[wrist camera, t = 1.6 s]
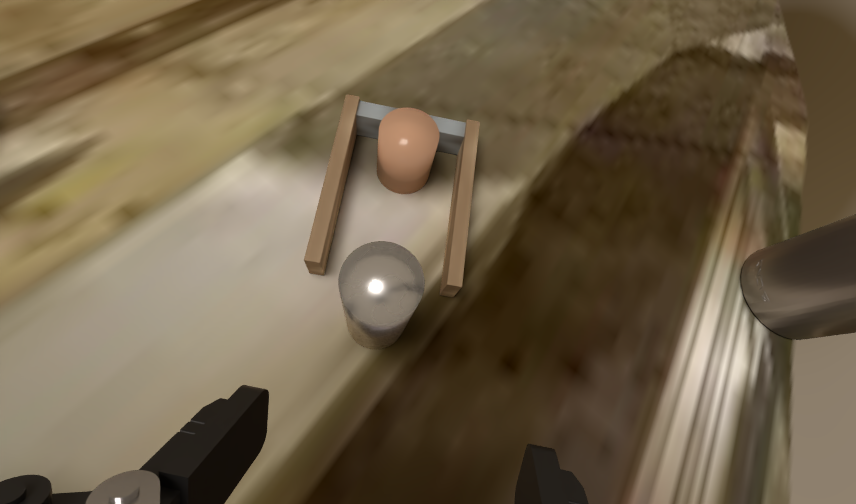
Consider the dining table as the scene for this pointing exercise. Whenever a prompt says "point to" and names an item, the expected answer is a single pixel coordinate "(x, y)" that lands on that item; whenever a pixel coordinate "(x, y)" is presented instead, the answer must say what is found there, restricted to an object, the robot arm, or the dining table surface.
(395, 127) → the cylinder
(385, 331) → the shaft
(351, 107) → the channel
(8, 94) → the dining table surface
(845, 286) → the robot arm
